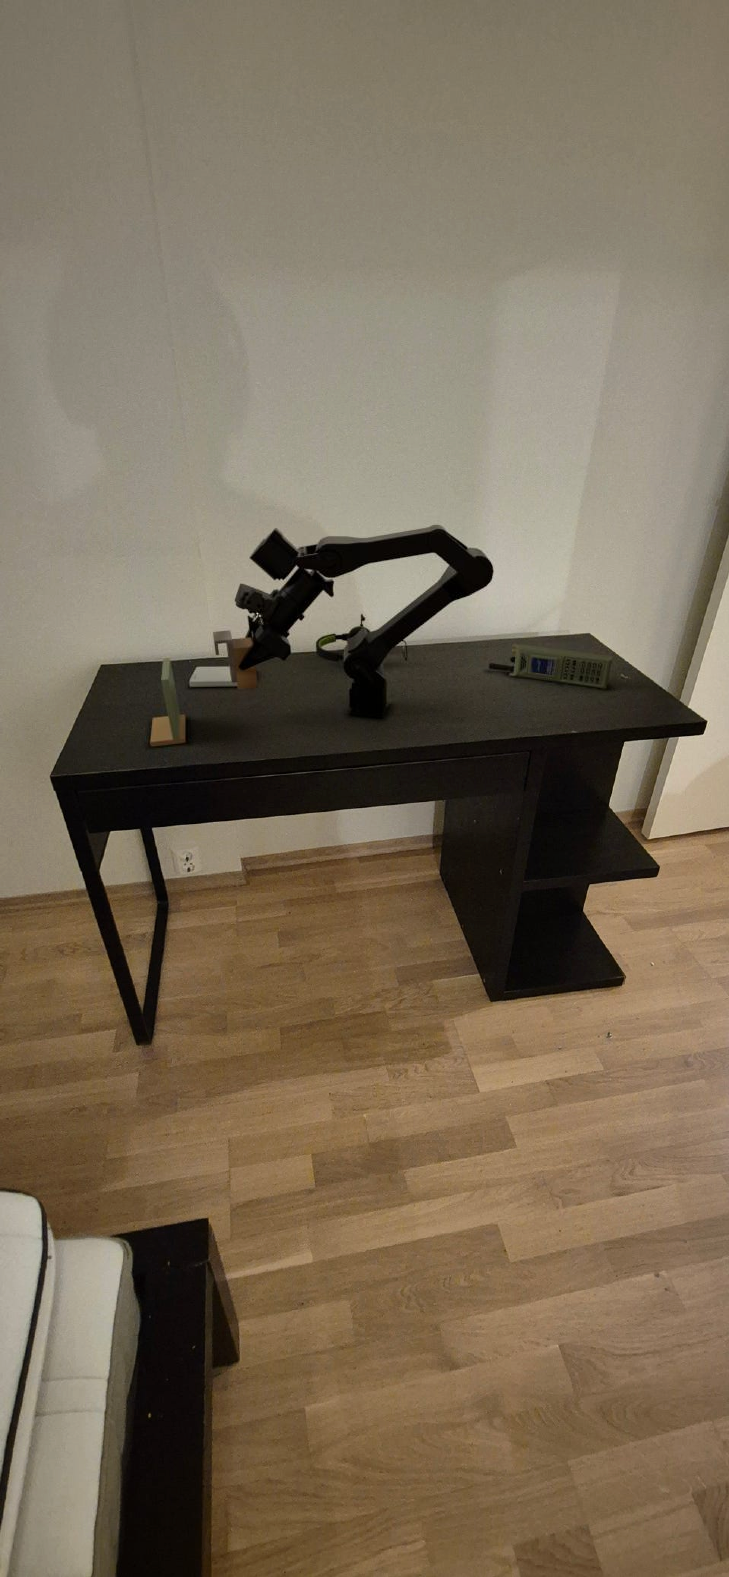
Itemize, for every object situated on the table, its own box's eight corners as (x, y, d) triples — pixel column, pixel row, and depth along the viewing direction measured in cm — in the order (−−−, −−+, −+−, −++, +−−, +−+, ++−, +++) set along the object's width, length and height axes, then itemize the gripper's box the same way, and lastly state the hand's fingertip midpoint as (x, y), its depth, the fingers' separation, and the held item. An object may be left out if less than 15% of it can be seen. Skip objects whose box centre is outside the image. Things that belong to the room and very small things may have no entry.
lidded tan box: (255, 677, 126) (250, 628, 120) (257, 688, 121) (252, 637, 116) (219, 681, 124) (212, 631, 119) (220, 691, 120) (213, 641, 115)
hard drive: (188, 680, 139) (247, 679, 139) (196, 666, 146) (252, 665, 146) (190, 688, 140) (248, 687, 140) (198, 673, 147) (253, 672, 147)
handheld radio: (605, 690, 136) (486, 673, 144) (607, 685, 139) (490, 669, 147) (612, 659, 133) (489, 644, 141) (613, 654, 135) (493, 639, 143)
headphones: (409, 629, 141) (315, 633, 139) (407, 671, 146) (317, 675, 145) (399, 606, 154) (313, 610, 153) (398, 646, 159) (315, 649, 158)
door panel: (185, 719, 127) (174, 657, 121) (185, 743, 119) (173, 678, 112) (153, 722, 126) (141, 660, 120) (151, 746, 118) (137, 682, 111)
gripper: (253, 555, 120) (201, 620, 124) (265, 582, 105) (204, 655, 109) (299, 595, 126) (248, 655, 130) (316, 625, 111) (257, 693, 115)
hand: (239, 663), depth 121 cm, fingers closed on lidded tan box, 5 cm apart
